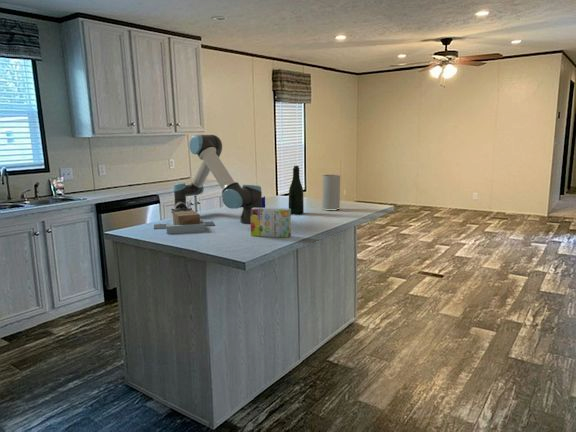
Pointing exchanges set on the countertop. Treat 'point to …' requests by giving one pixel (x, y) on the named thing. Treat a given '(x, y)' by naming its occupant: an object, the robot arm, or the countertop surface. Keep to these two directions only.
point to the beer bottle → (296, 193)
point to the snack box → (271, 222)
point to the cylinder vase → (331, 192)
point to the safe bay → (185, 228)
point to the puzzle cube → (263, 201)
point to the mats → (163, 226)
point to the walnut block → (186, 217)
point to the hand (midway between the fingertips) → (182, 214)
